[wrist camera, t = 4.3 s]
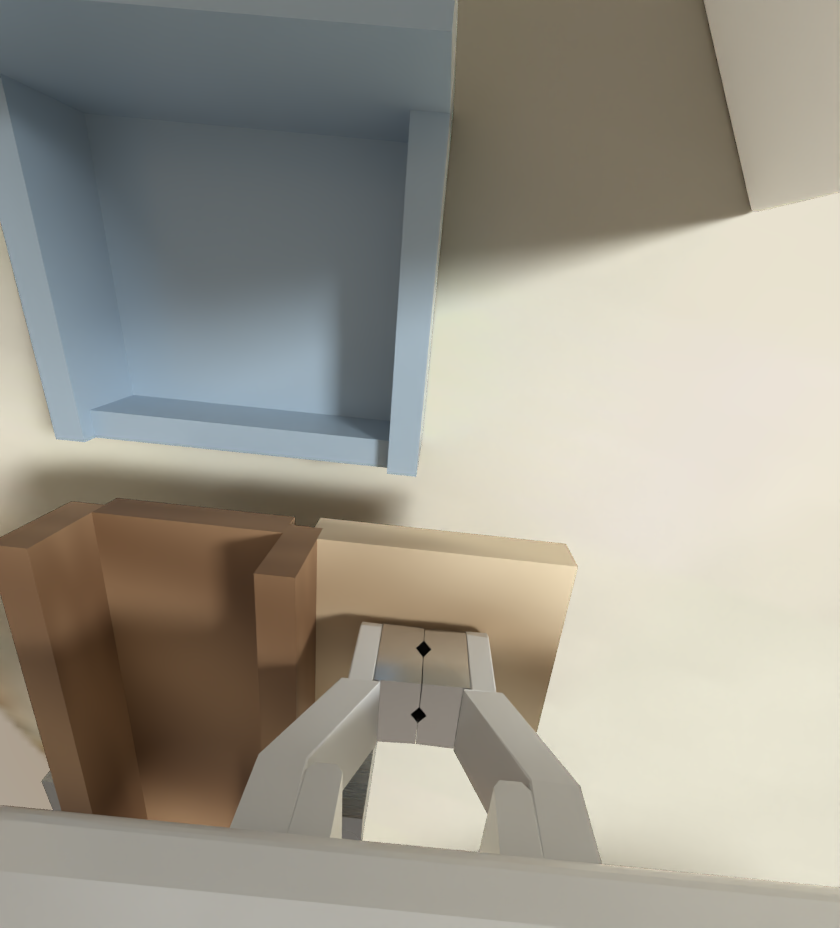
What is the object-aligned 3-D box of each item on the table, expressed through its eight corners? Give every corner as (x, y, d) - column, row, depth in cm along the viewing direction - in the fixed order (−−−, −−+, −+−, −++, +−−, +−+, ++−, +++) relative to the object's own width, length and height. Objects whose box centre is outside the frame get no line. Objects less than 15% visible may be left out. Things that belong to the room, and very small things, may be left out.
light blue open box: (453, 109, 11) (461, -73, 5) (421, 439, 14) (406, 536, 9) (69, 74, 11) (-304, -135, 6) (129, 409, 15) (-63, 485, 9)
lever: (464, 938, 18) (471, 1131, 13) (176, 903, 18) (95, 1082, 14) (556, 526, 11) (622, 650, 7) (106, 478, 11) (-84, 573, 7)
